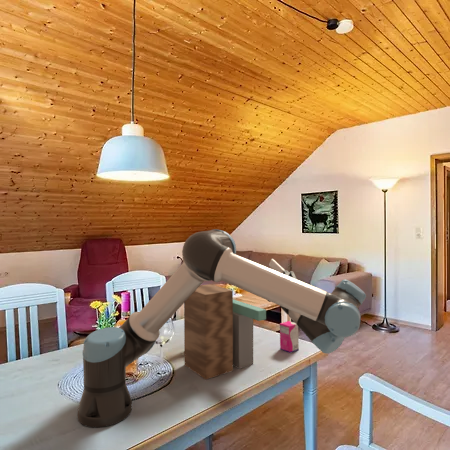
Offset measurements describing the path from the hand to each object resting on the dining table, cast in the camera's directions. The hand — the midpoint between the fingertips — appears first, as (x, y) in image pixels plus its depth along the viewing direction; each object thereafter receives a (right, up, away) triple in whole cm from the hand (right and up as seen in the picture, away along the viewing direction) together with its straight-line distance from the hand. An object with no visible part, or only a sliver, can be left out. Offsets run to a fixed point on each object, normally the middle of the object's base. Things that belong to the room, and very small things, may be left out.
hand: (255, 263), depth 118 cm
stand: (-17, -41, +16) cm, 47 cm away
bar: (-4, -21, +19) cm, 29 cm away
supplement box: (+17, -41, +34) cm, 56 cm away
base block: (-6, -41, +22) cm, 47 cm away
